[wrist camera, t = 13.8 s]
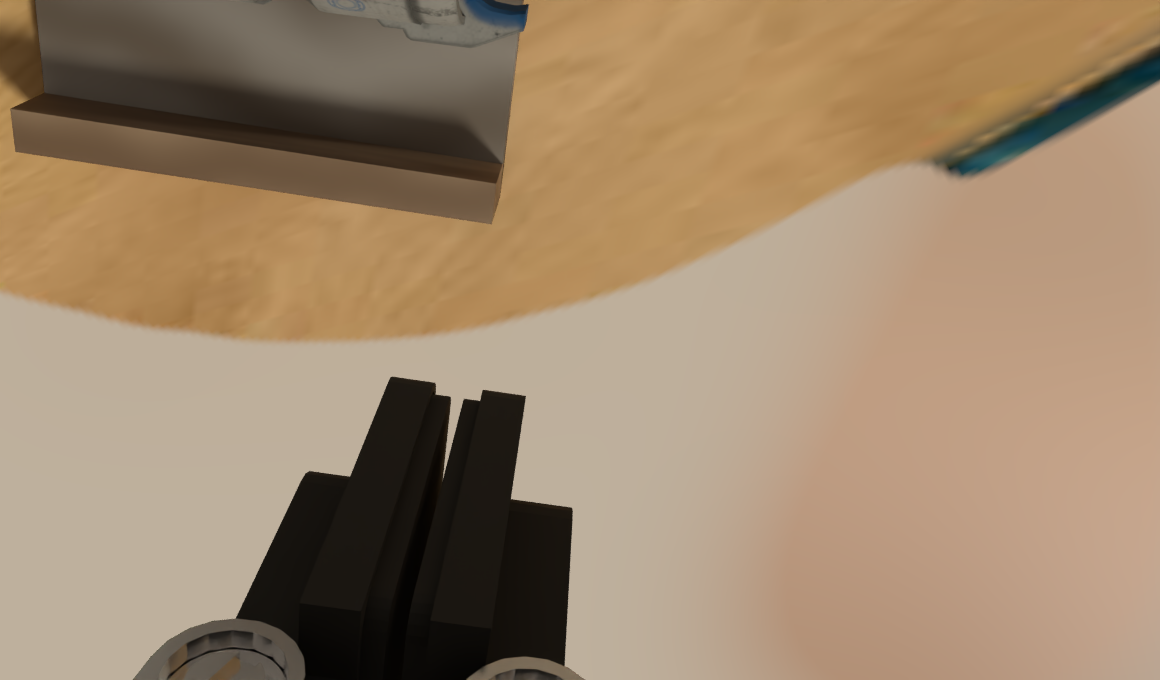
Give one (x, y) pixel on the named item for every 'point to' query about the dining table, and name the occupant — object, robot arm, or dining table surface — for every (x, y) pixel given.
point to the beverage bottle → (435, 18)
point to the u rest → (273, 101)
